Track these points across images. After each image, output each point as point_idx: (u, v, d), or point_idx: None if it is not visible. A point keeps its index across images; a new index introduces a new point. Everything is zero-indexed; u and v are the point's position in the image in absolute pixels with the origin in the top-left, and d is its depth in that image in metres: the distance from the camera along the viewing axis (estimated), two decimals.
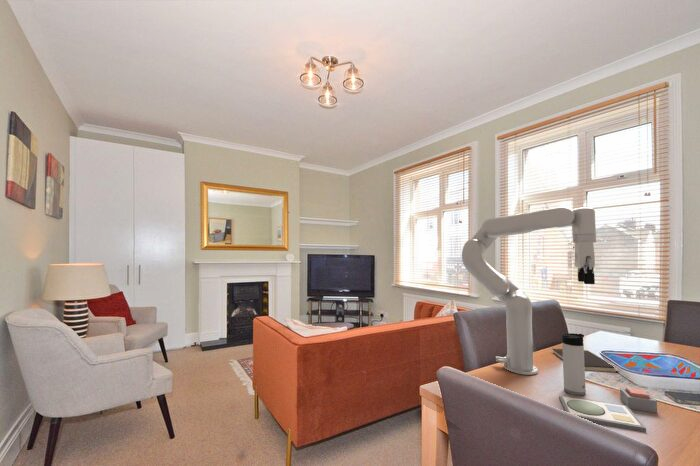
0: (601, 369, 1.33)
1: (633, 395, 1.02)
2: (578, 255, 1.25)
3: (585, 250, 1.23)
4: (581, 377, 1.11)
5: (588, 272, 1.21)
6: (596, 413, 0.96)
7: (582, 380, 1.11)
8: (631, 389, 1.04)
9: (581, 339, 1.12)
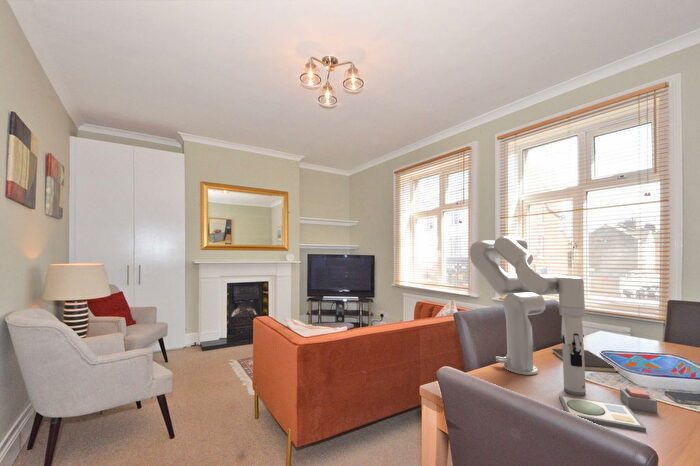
0: (601, 369, 1.33)
1: (633, 395, 1.02)
2: (565, 330, 1.13)
3: (572, 326, 1.10)
4: (581, 377, 1.11)
5: (575, 354, 1.10)
6: (596, 413, 0.96)
7: (582, 380, 1.11)
8: (631, 389, 1.04)
9: None
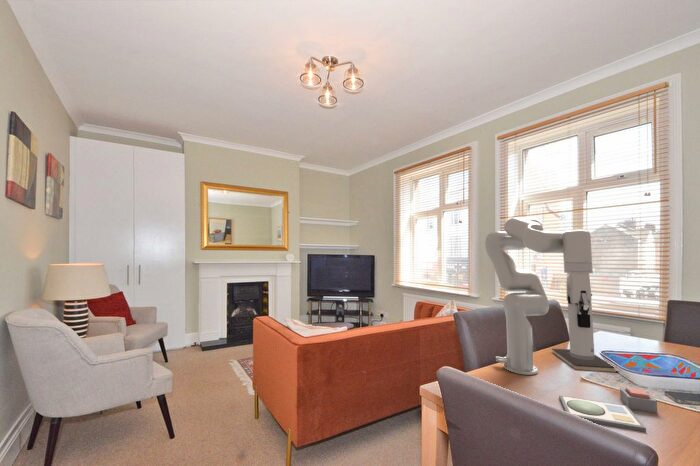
0: (601, 369, 1.33)
1: (633, 395, 1.02)
2: (571, 288, 1.02)
3: (579, 283, 1.00)
4: (590, 339, 1.00)
5: (582, 313, 0.99)
6: (596, 413, 0.96)
7: (591, 342, 1.00)
8: (631, 389, 1.04)
9: None
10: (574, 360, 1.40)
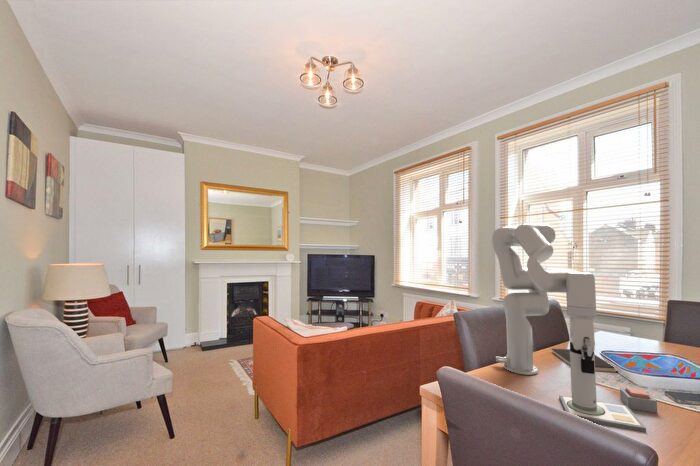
0: (601, 369, 1.33)
1: (633, 395, 1.02)
2: (574, 333, 0.99)
3: (582, 329, 0.97)
4: (592, 390, 0.97)
5: (586, 358, 0.95)
6: (596, 413, 0.96)
7: (593, 393, 0.97)
8: (631, 389, 1.04)
9: None
10: None
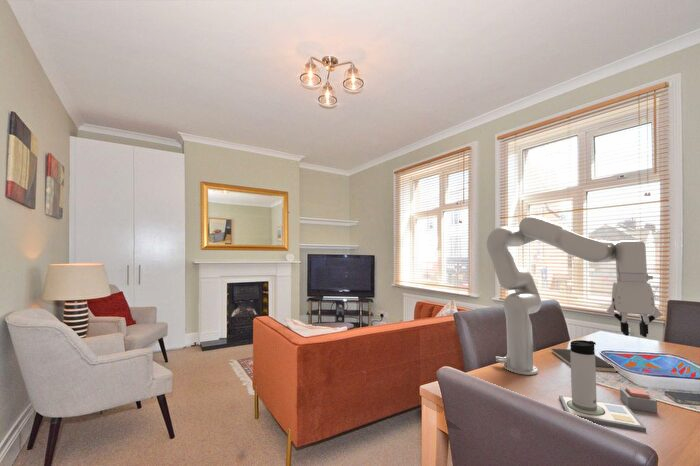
0: (601, 369, 1.33)
1: (633, 395, 1.02)
2: None
3: (612, 291, 1.08)
4: (592, 390, 0.97)
5: None
6: (596, 413, 0.96)
7: (593, 393, 0.97)
8: (631, 389, 1.04)
9: (592, 347, 0.98)
10: None
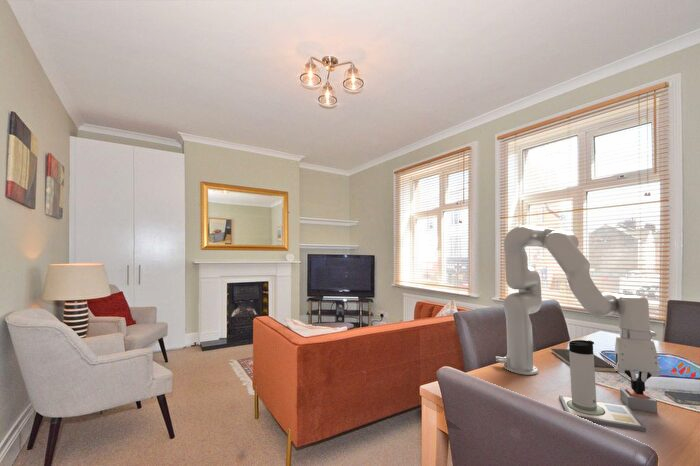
0: (600, 369, 1.33)
1: (633, 396, 1.02)
2: None
3: (615, 345, 1.07)
4: (591, 390, 0.97)
5: None
6: (596, 413, 0.96)
7: (593, 393, 0.97)
8: (631, 391, 1.04)
9: (591, 347, 0.98)
10: None
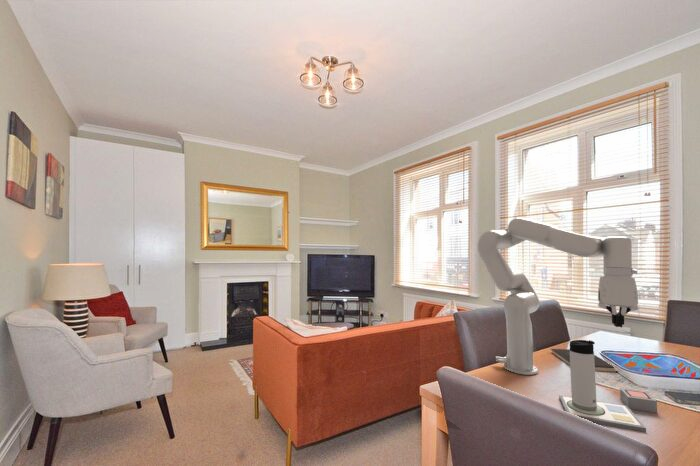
0: (600, 369, 1.33)
1: None
2: None
3: (599, 284, 1.14)
4: (591, 389, 0.97)
5: None
6: (596, 413, 0.96)
7: (593, 393, 0.97)
8: (631, 393, 1.04)
9: (591, 346, 0.99)
10: None
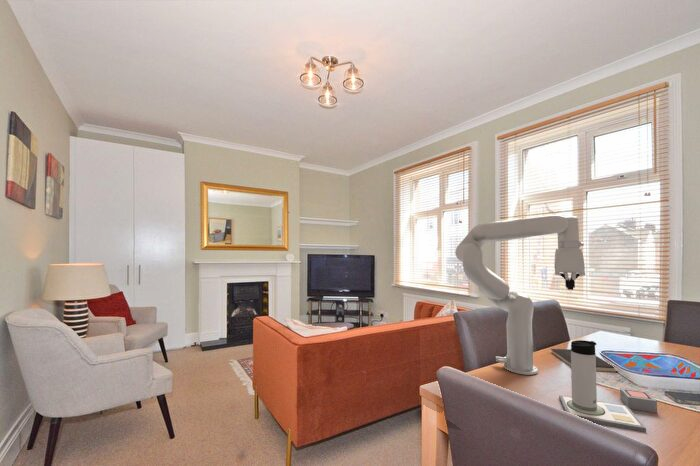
0: (600, 369, 1.33)
1: None
2: None
3: (555, 256, 1.39)
4: (592, 390, 0.97)
5: (565, 279, 1.37)
6: (596, 413, 0.96)
7: (593, 393, 0.97)
8: (631, 393, 1.04)
9: (593, 347, 0.98)
10: None
